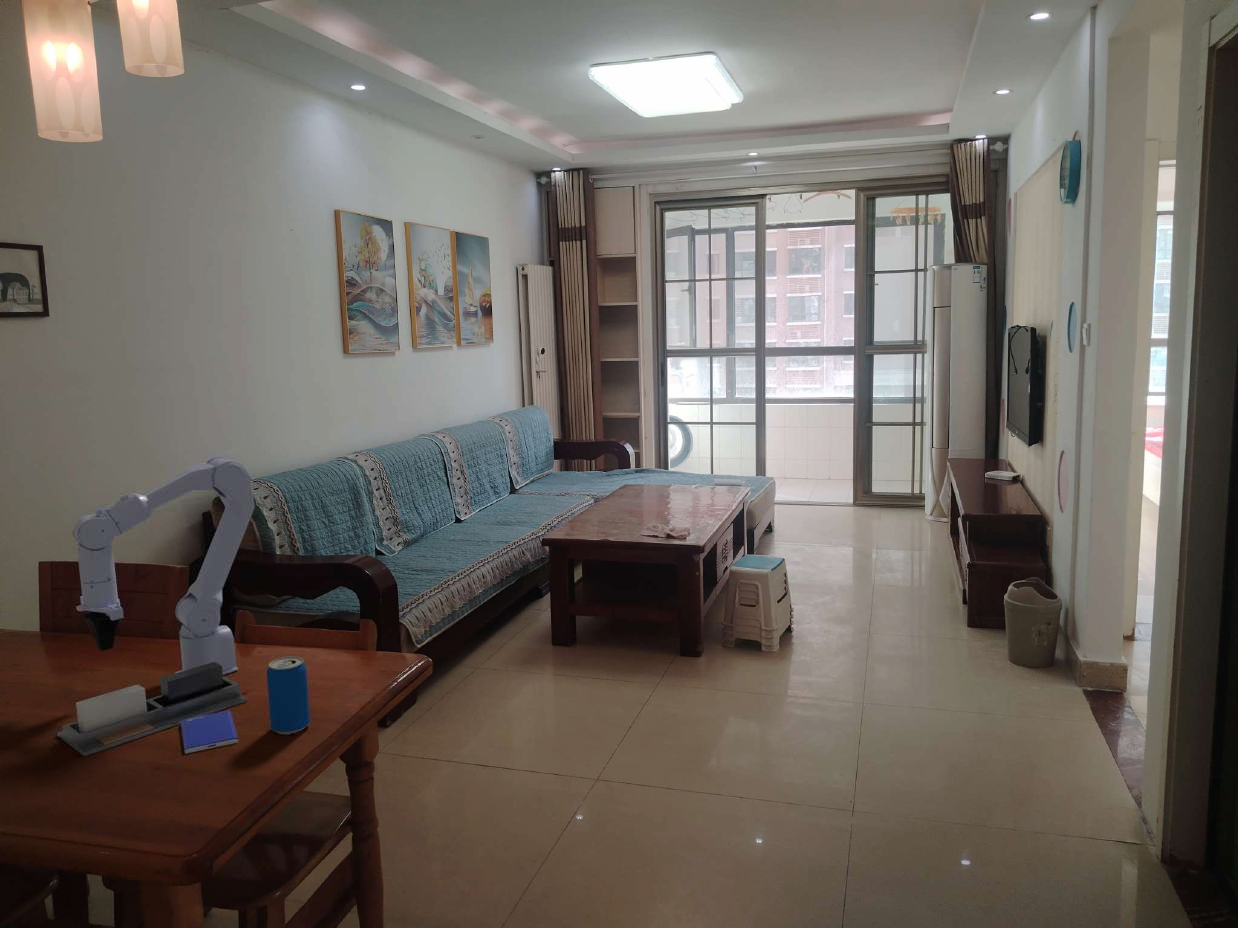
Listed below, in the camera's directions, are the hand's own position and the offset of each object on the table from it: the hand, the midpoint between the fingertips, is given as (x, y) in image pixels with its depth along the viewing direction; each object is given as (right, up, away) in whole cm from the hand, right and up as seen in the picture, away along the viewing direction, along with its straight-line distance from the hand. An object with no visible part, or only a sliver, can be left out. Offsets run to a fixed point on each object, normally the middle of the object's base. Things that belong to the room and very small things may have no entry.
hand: (105, 648), depth 171 cm
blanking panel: (+9, -11, -14) cm, 20 cm away
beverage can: (+40, -11, -14) cm, 44 cm away
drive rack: (+14, -11, -9) cm, 20 cm away
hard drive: (+26, -12, -15) cm, 33 cm away
